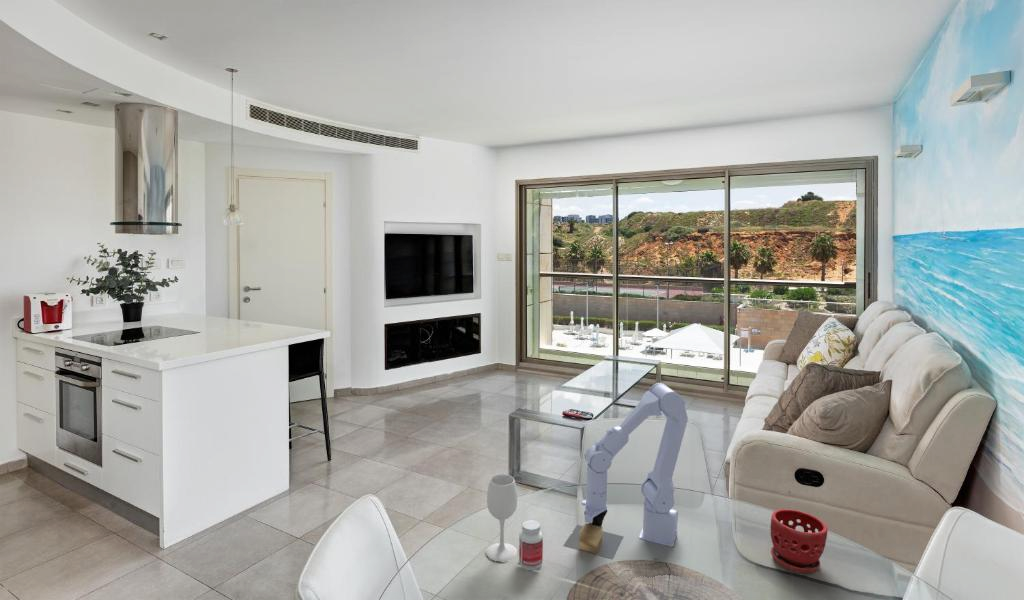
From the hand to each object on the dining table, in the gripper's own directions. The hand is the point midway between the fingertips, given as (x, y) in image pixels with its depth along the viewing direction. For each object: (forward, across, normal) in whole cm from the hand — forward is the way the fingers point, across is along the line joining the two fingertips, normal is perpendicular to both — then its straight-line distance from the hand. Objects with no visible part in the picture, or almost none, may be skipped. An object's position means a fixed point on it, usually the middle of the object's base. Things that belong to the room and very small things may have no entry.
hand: (595, 534), depth 153 cm
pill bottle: (+2, +18, -12) cm, 22 cm away
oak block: (+1, +4, 0) cm, 4 cm away
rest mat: (+2, +1, 0) cm, 2 cm away
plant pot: (+2, -14, +51) cm, 53 cm away
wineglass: (+2, +17, -21) cm, 27 cm away
